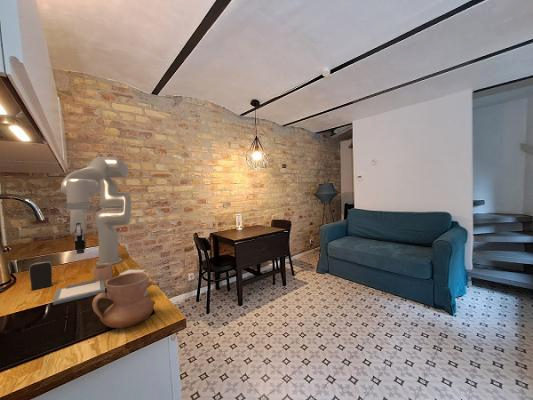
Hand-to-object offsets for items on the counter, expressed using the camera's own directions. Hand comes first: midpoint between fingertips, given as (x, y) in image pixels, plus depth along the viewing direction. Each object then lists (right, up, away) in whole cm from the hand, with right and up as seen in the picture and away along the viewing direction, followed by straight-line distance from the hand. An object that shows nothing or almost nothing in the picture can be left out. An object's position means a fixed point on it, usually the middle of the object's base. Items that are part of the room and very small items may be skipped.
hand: (80, 248), depth 98 cm
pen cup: (+2, -17, +11) cm, 21 cm away
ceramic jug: (+36, -19, -25) cm, 48 cm away
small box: (+29, -18, -9) cm, 35 cm away
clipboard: (+3, -18, -3) cm, 19 cm away
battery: (-19, -18, +2) cm, 26 cm away
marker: (0, -2, 0) cm, 2 cm away
